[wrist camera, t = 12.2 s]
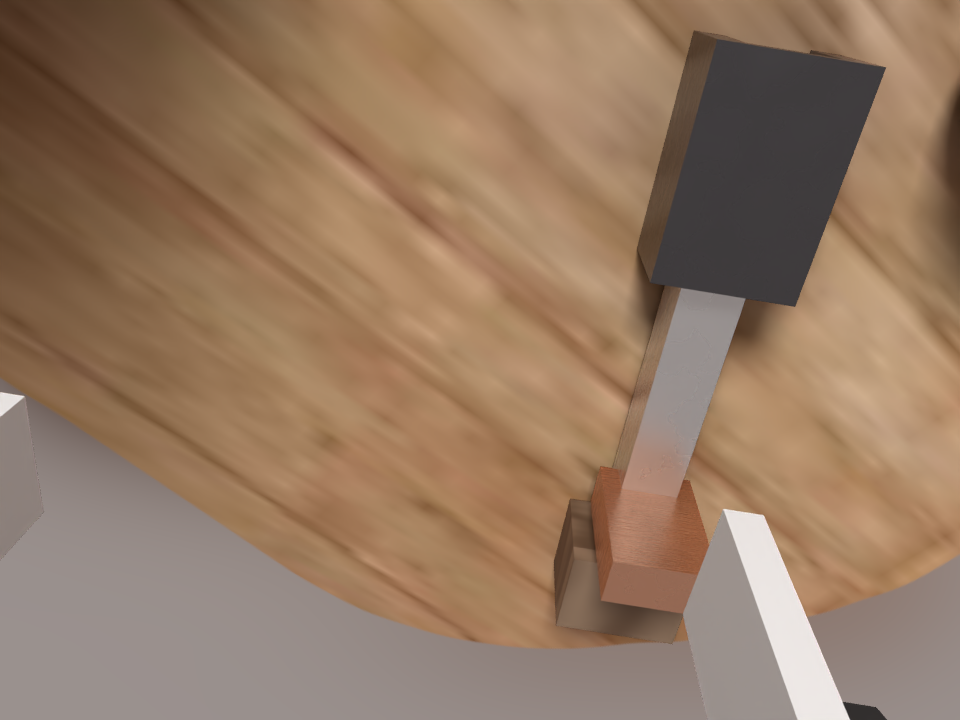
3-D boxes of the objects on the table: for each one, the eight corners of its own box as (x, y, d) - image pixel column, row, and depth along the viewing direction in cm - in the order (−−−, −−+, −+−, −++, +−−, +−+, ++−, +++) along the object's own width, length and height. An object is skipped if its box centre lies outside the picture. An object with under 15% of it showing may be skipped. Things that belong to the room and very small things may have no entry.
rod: (575, 536, 54) (584, 654, 45) (680, 150, 41) (724, 202, 32) (656, 549, 54) (682, 670, 45) (787, 168, 41) (862, 225, 32)
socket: (553, 561, 56) (555, 625, 50) (570, 498, 53) (574, 559, 48) (658, 578, 56) (672, 644, 50) (680, 516, 53) (697, 579, 48)
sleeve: (637, 248, 44) (650, 282, 39) (693, 30, 39) (717, 39, 34) (765, 269, 44) (795, 306, 39) (841, 55, 39) (886, 67, 34)
